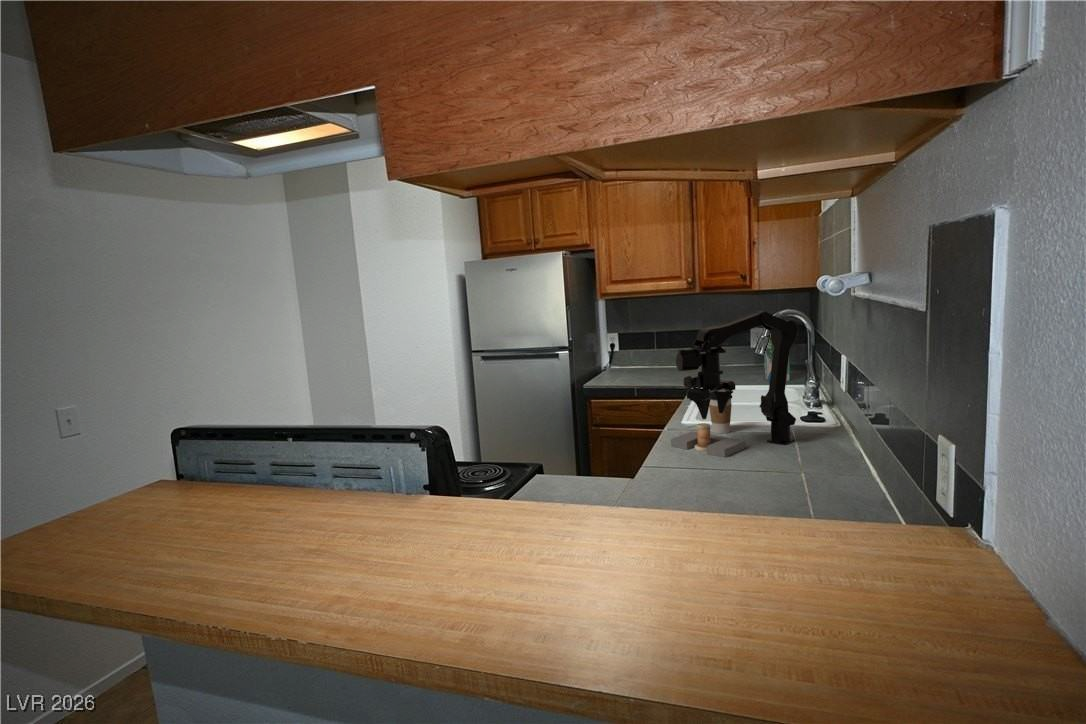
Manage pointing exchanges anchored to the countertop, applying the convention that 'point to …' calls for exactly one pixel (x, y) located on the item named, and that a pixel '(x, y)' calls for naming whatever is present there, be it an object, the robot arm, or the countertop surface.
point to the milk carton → (768, 362)
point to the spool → (703, 437)
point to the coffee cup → (720, 415)
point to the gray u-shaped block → (717, 447)
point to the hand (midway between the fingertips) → (712, 416)
